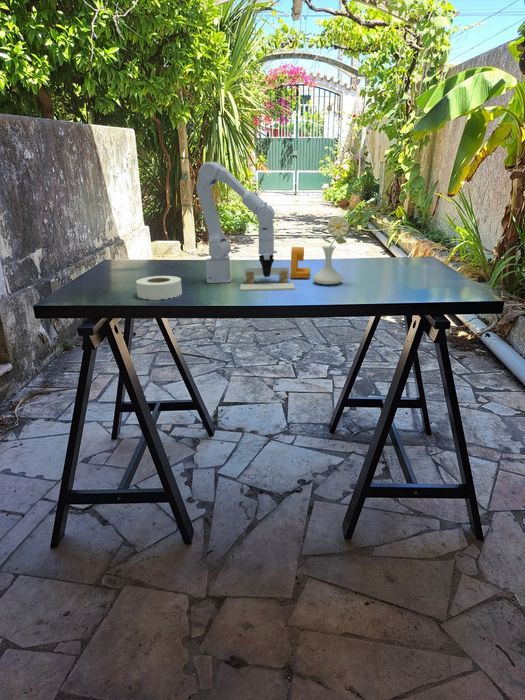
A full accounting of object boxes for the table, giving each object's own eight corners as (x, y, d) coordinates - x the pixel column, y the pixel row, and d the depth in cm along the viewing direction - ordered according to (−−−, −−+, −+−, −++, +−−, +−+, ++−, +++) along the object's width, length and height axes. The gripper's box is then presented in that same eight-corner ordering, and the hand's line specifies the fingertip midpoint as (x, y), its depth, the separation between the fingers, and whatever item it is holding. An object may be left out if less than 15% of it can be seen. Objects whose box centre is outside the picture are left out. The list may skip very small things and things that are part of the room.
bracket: (308, 279, 189) (309, 249, 185) (290, 279, 191) (290, 249, 186) (310, 274, 199) (310, 245, 195) (292, 274, 200) (293, 245, 196)
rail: (244, 275, 184) (244, 269, 183) (244, 274, 186) (244, 268, 186) (288, 274, 184) (288, 268, 183) (288, 273, 187) (288, 267, 186)
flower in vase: (309, 285, 180) (310, 217, 171) (316, 279, 190) (318, 214, 181) (343, 287, 176) (346, 217, 167) (349, 281, 186) (352, 214, 177)
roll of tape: (141, 290, 178) (139, 275, 176) (183, 289, 179) (182, 274, 177) (133, 301, 163) (131, 285, 161) (180, 299, 164) (178, 283, 162)
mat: (240, 290, 174) (240, 289, 174) (240, 285, 182) (240, 284, 181) (295, 289, 174) (295, 288, 174) (293, 284, 182) (293, 283, 182)
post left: (246, 284, 184) (245, 273, 183) (246, 281, 189) (246, 270, 187) (253, 283, 184) (253, 273, 183) (254, 281, 189) (253, 270, 187)
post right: (279, 283, 184) (279, 272, 183) (279, 280, 189) (279, 270, 187) (287, 283, 184) (287, 272, 183) (286, 280, 189) (286, 269, 187)
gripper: (277, 242, 174) (277, 278, 179) (276, 236, 187) (276, 271, 192) (258, 242, 174) (258, 279, 179) (258, 237, 187) (258, 271, 192)
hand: (266, 275), depth 185 cm, fingers open, 5 cm apart
